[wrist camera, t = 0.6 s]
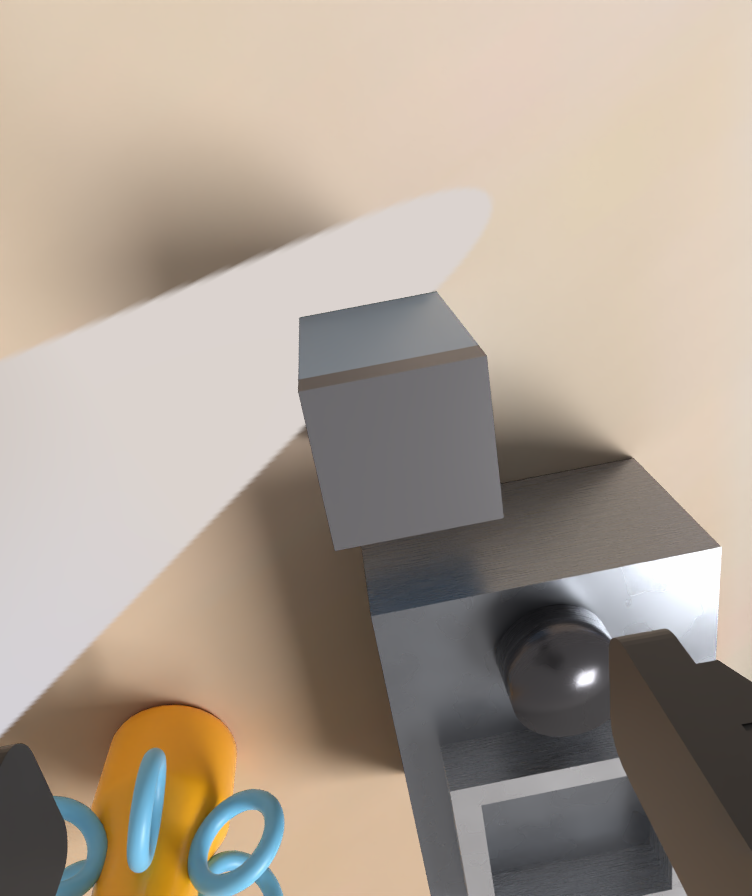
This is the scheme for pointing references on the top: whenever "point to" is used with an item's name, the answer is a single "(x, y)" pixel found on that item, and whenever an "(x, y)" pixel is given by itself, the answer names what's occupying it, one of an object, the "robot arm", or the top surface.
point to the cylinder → (170, 813)
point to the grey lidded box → (398, 420)
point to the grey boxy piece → (536, 678)
